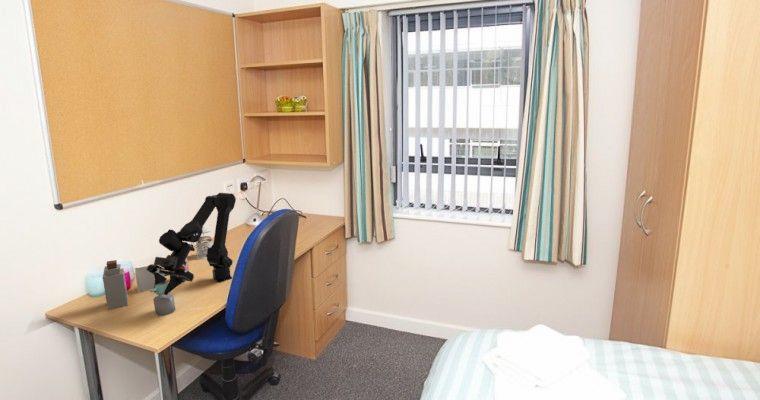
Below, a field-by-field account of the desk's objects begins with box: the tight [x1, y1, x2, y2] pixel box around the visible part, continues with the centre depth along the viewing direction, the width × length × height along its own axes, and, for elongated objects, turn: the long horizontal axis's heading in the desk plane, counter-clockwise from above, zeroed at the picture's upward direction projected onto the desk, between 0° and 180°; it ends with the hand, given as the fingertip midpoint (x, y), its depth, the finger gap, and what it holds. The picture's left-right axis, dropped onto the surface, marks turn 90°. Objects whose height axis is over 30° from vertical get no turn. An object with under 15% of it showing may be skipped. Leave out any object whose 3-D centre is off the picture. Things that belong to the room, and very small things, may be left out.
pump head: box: [150, 281, 169, 298], centre depth 167 cm, size 7×5×5 cm, turn 160°
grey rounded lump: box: [153, 293, 176, 317], centre depth 170 cm, size 7×7×6 cm
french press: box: [190, 226, 213, 260], centre depth 226 cm, size 10×12×25 cm
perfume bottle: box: [102, 259, 129, 310], centre depth 174 cm, size 7×7×18 cm
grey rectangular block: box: [134, 265, 155, 293], centre depth 190 cm, size 4×7×10 cm, turn 118°
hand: (159, 293), depth 167 cm, fingers closed on pump head, 5 cm apart
